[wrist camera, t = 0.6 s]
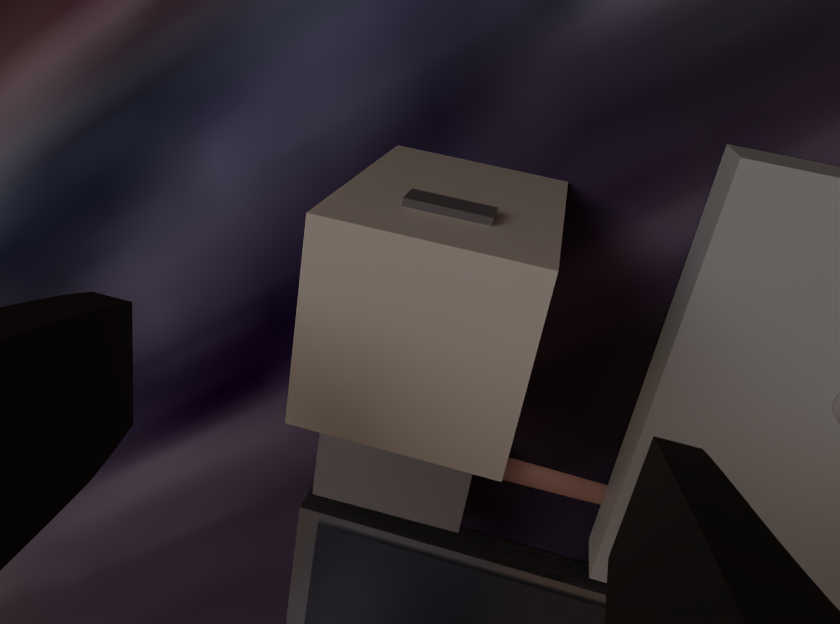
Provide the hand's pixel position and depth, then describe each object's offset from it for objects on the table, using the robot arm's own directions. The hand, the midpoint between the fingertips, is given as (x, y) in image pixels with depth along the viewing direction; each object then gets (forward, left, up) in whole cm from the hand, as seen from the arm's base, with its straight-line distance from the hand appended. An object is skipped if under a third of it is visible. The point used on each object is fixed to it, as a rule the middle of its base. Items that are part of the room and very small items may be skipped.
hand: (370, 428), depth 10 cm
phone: (-11, -3, -8) cm, 14 cm away
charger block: (0, 0, -8) cm, 8 cm away
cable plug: (-6, -3, -9) cm, 11 cm away
